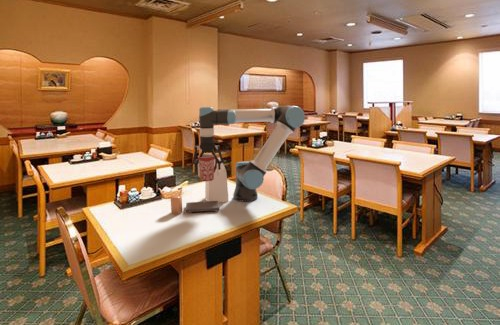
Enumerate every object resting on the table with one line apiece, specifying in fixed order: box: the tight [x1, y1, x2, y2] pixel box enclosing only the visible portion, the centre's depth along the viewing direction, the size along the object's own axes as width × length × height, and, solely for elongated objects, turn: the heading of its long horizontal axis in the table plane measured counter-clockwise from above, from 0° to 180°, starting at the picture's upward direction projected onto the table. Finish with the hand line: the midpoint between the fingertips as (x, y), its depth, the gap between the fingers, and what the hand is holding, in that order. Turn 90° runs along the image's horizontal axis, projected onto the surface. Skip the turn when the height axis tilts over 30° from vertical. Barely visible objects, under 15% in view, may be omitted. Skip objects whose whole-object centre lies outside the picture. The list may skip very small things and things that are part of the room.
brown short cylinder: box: [169, 194, 184, 215], centre depth 177 cm, size 6×6×9 cm
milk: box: [204, 157, 229, 203], centre depth 197 cm, size 12×12×26 cm
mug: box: [197, 153, 218, 182], centre depth 179 cm, size 13×9×14 cm
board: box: [185, 200, 220, 214], centre depth 183 cm, size 18×12×2 cm, turn 99°
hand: (208, 175), depth 180 cm, fingers closed on mug, 10 cm apart
